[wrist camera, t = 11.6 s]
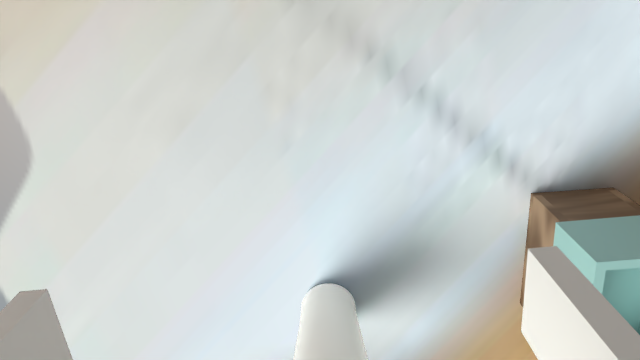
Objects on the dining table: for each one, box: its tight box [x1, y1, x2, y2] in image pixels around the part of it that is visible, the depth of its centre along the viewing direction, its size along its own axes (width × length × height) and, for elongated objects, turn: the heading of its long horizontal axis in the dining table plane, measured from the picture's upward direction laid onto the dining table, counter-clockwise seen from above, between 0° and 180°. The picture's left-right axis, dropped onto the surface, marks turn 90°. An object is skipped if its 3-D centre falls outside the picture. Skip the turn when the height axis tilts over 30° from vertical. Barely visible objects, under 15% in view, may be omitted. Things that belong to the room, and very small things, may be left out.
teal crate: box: [553, 215, 640, 335], centre depth 38 cm, size 12×8×7 cm
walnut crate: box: [520, 188, 640, 307], centre depth 43 cm, size 12×7×6 cm, turn 4°
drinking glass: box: [293, 283, 368, 360], centre depth 41 cm, size 7×7×15 cm
